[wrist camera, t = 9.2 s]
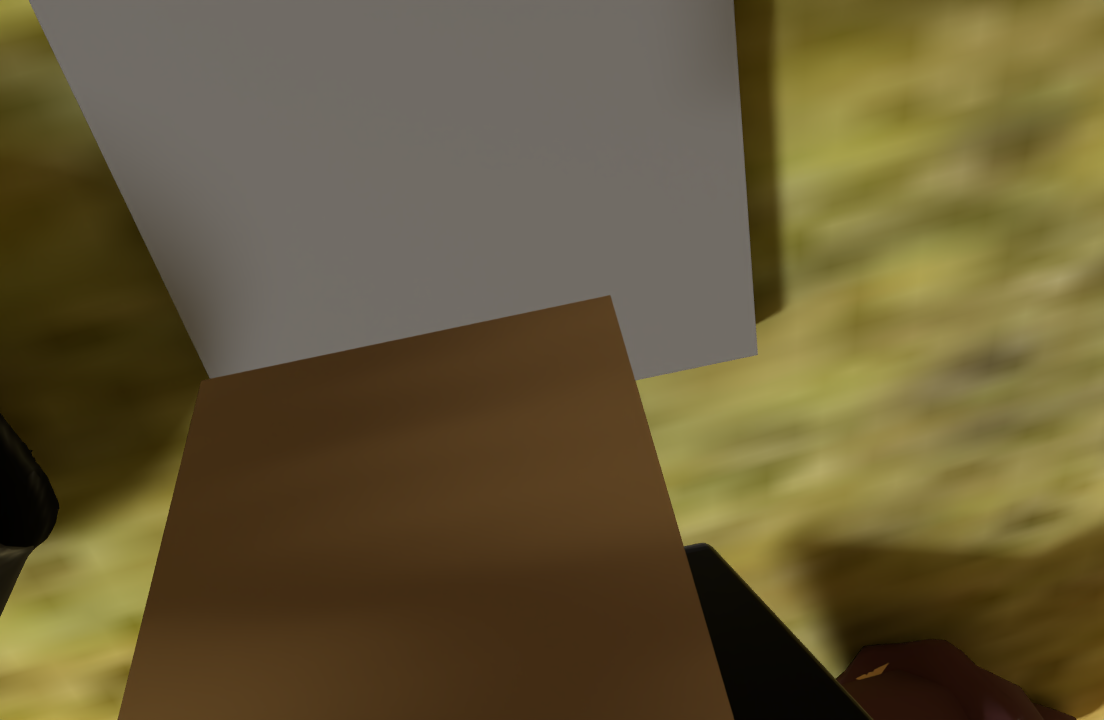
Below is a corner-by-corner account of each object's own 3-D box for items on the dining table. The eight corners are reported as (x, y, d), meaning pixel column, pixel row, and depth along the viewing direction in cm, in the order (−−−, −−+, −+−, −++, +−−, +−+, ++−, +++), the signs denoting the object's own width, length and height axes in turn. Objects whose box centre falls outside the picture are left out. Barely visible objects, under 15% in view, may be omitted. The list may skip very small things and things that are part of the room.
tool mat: (254, 434, 21) (248, 461, 20) (13, -86, 15) (-5, -71, 14) (746, 331, 21) (757, 354, 20) (704, -237, 15) (717, -228, 14)
